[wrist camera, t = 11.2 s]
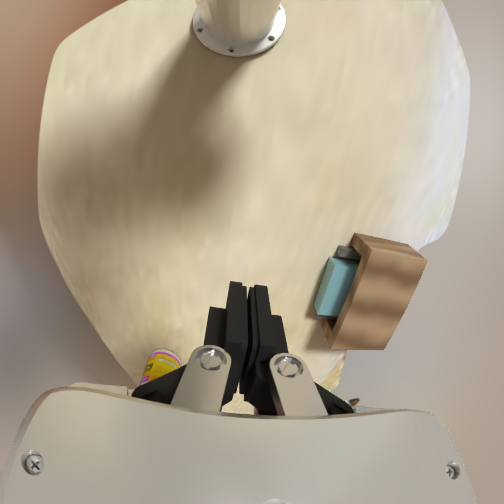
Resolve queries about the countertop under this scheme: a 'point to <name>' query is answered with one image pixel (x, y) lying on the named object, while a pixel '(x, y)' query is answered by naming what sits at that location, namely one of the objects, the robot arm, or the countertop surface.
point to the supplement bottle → (160, 365)
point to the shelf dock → (374, 293)
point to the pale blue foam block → (335, 286)
